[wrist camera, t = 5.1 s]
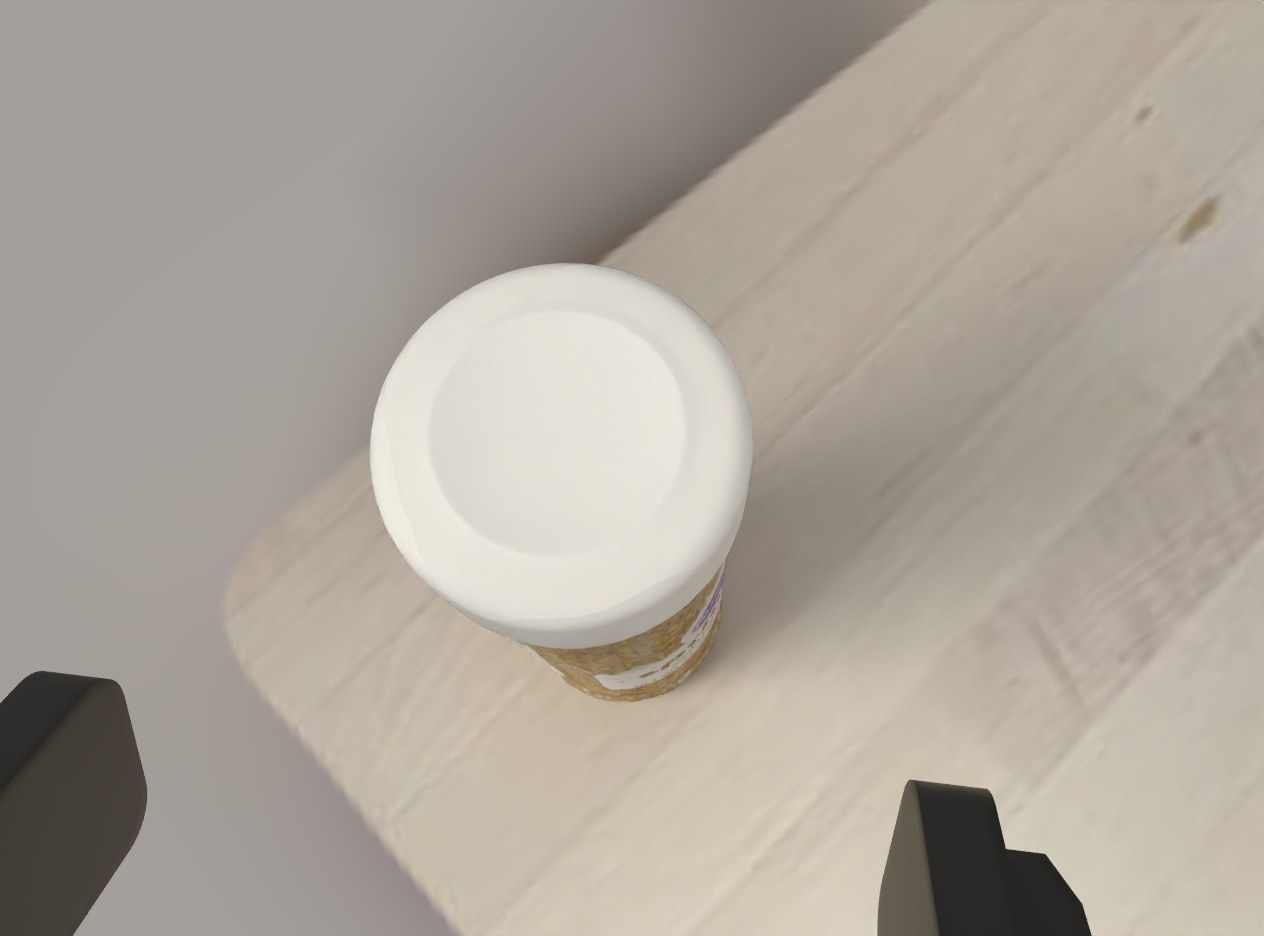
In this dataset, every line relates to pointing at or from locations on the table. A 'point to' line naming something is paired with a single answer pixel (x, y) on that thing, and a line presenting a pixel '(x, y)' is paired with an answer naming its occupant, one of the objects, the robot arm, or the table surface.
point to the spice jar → (570, 471)
